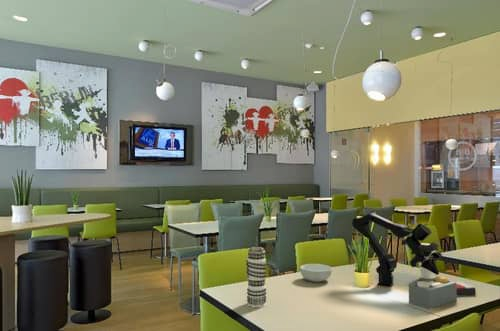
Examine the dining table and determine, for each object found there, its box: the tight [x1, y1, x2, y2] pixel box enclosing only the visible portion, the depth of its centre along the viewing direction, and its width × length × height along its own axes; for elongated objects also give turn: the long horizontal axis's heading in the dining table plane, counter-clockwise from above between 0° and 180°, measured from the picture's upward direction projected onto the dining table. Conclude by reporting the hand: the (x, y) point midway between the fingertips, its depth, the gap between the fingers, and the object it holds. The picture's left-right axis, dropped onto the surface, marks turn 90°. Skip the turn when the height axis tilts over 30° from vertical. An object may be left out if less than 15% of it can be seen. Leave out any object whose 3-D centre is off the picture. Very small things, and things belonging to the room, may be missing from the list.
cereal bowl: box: [299, 263, 333, 283], centre depth 212 cm, size 17×17×7 cm
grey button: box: [416, 280, 430, 289], centre depth 172 cm, size 5×5×3 cm
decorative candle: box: [245, 246, 268, 308], centre depth 173 cm, size 9×9×25 cm
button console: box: [408, 277, 458, 310], centre depth 176 cm, size 10×21×8 cm, turn 123°
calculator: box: [455, 281, 477, 297], centre depth 190 cm, size 11×4×15 cm
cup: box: [418, 242, 436, 280], centre depth 216 cm, size 11×11×18 cm
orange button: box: [435, 276, 449, 283], centre depth 180 cm, size 5×5×3 cm
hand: (438, 274), depth 181 cm, fingers closed
